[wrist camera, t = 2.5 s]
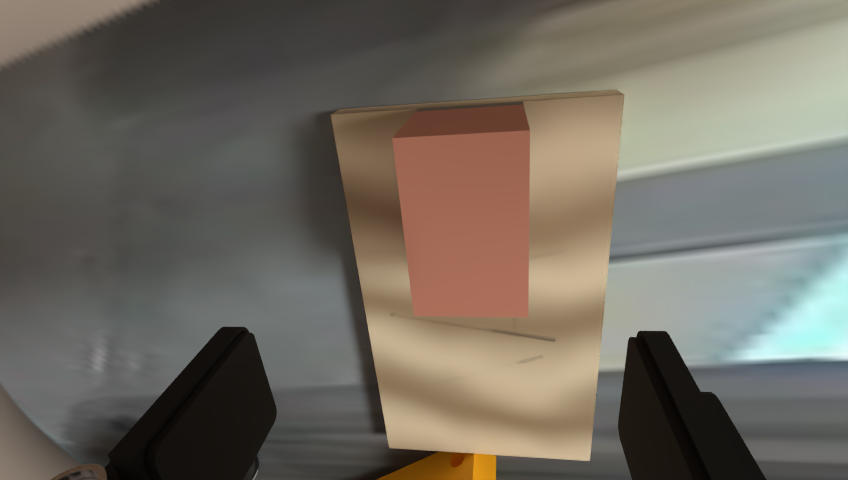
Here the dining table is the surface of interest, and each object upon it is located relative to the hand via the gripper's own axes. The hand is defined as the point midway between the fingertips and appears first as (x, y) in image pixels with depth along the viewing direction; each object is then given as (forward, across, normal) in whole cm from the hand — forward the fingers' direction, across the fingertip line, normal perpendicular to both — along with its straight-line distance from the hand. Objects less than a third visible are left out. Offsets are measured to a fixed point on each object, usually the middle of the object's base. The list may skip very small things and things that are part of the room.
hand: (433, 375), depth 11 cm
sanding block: (+14, 0, 0) cm, 14 cm away
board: (+15, 0, +8) cm, 17 cm away
